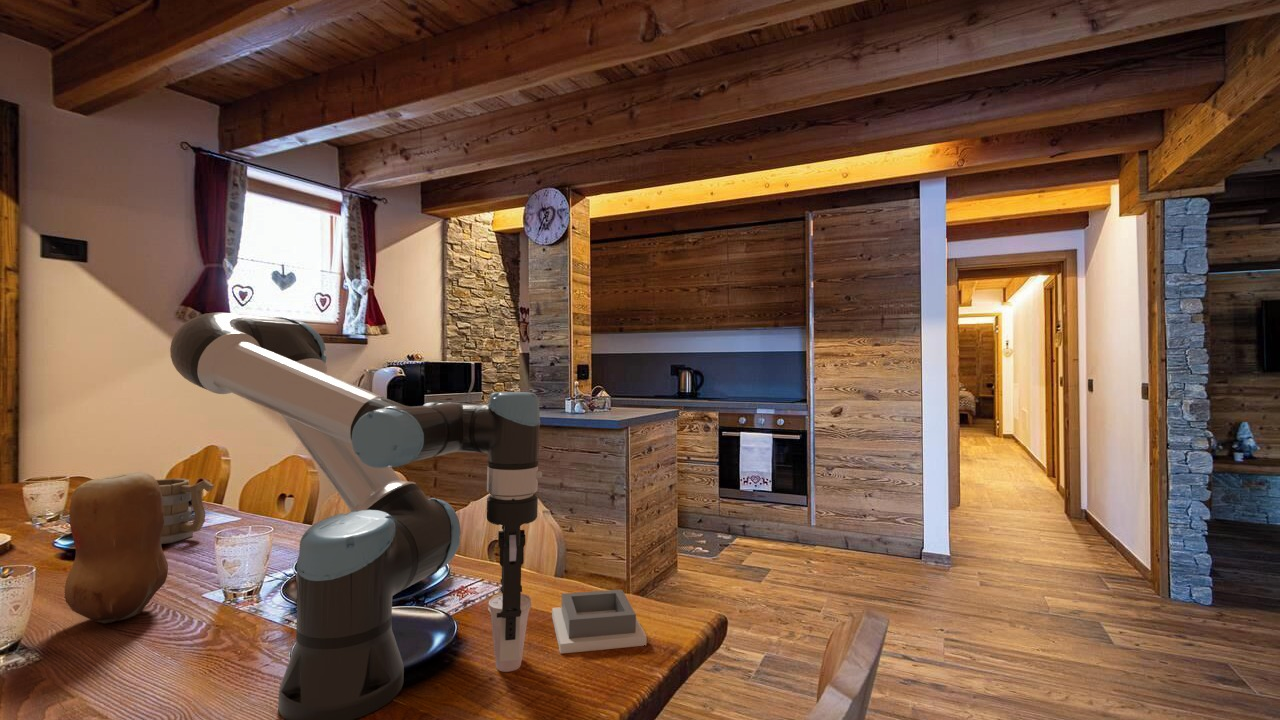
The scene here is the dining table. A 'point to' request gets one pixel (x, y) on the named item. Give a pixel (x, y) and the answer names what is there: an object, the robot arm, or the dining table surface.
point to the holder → (596, 622)
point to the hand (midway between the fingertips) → (508, 647)
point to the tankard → (181, 508)
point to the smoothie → (495, 608)
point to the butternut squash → (116, 547)
